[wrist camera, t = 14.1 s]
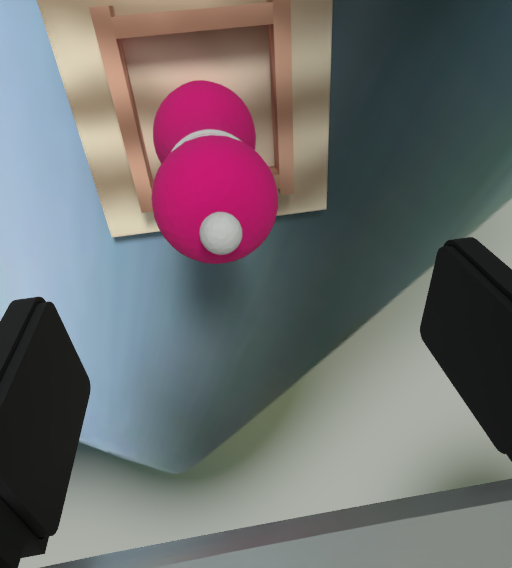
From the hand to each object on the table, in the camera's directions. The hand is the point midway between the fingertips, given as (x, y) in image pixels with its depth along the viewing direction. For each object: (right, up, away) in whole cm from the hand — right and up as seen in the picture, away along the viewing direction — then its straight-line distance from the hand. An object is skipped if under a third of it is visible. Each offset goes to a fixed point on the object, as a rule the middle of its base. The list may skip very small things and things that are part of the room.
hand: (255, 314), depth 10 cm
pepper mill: (-4, +14, +22) cm, 27 cm away
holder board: (-4, +15, +22) cm, 27 cm away
